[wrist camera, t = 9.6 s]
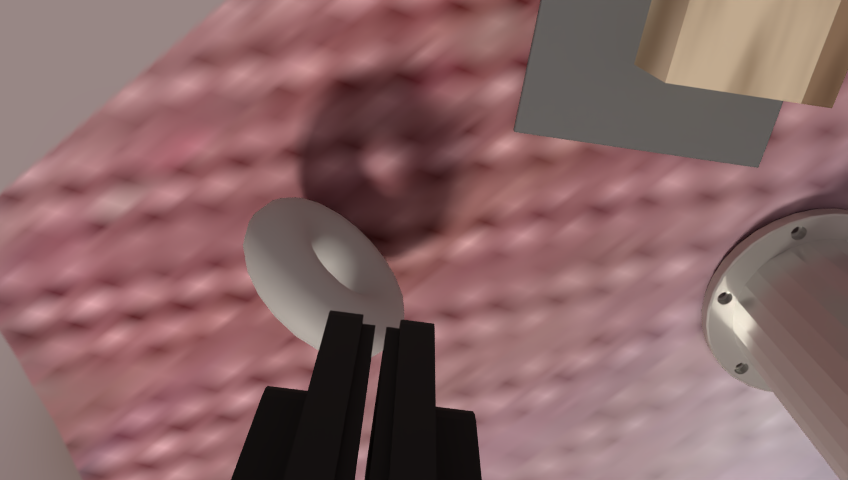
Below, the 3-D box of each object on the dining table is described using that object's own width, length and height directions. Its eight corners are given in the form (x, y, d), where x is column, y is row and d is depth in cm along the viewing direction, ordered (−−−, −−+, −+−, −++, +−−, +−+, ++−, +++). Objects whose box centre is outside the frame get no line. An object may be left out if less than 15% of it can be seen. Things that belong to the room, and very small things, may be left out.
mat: (841, -65, 32) (845, -65, 32) (754, 165, 37) (758, 167, 37) (563, -112, 31) (565, -112, 31) (513, 129, 36) (514, 131, 36)
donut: (256, 201, 38) (202, 281, 29) (294, 161, 37) (250, 231, 28) (380, 305, 41) (367, 408, 32) (419, 271, 40) (416, 367, 31)
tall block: (661, -38, 32) (816, -13, 33) (633, 64, 34) (779, 86, 35) (700, -35, 28) (878, -6, 28) (665, 82, 30) (832, 108, 30)
